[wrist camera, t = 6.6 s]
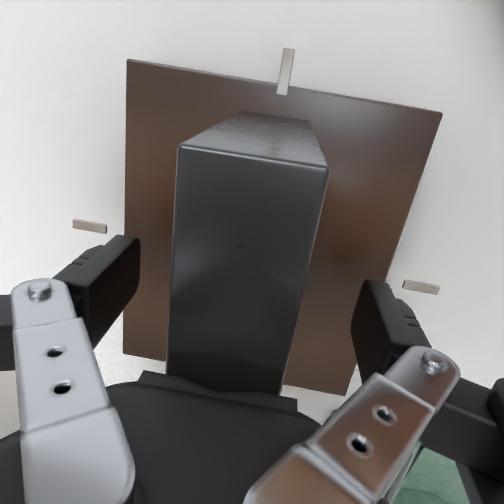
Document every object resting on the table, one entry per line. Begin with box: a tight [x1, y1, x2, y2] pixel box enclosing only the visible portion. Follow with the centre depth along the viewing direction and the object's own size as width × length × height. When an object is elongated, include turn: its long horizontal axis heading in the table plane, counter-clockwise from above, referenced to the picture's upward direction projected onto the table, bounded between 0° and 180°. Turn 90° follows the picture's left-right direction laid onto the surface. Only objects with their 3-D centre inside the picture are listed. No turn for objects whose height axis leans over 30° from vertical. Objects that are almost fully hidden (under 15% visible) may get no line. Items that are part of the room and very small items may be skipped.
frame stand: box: [73, 48, 443, 396], centre depth 17 cm, size 15×15×3 cm
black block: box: [165, 111, 330, 396], centre depth 12 cm, size 11×2×8 cm, turn 172°
